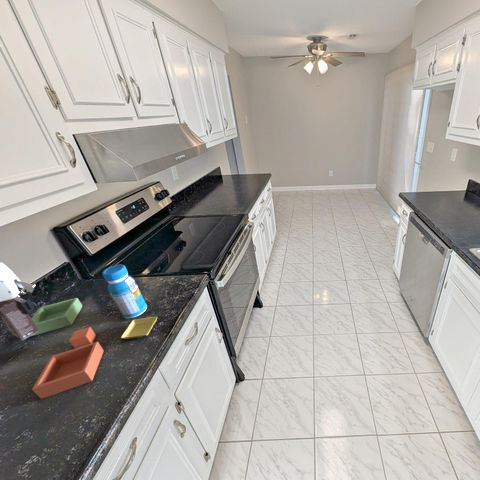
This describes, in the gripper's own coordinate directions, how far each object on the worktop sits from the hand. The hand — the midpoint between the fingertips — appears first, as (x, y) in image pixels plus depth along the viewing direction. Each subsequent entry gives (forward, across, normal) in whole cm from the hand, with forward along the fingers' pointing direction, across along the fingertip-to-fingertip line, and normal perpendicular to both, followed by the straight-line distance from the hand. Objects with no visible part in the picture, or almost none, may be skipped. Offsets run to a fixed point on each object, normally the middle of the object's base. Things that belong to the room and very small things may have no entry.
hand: (13, 314), depth 75 cm
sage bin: (+18, -3, +19) cm, 26 cm away
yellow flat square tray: (+17, +28, -3) cm, 33 cm away
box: (+7, 0, 0) cm, 7 cm away
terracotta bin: (+17, +12, -13) cm, 25 cm away
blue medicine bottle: (+17, +24, +10) cm, 31 cm away
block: (+17, +11, 0) cm, 21 cm away
